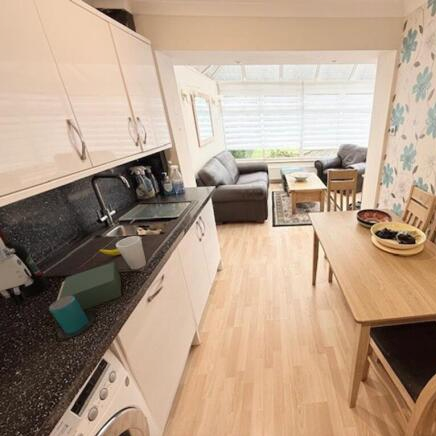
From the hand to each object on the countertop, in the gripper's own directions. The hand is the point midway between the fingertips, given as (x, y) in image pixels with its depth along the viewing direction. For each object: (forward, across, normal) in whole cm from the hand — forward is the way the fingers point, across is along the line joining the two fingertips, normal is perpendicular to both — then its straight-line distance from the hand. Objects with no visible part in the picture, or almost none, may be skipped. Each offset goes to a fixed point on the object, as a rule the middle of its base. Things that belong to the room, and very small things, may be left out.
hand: (20, 302), depth 81 cm
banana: (+7, -29, -31) cm, 43 cm away
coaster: (+8, -14, +14) cm, 21 cm away
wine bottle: (+8, +3, -22) cm, 24 cm away
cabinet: (+7, -19, -1) cm, 20 cm away
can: (+7, -14, +14) cm, 21 cm away
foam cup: (+7, -34, -13) cm, 37 cm away
